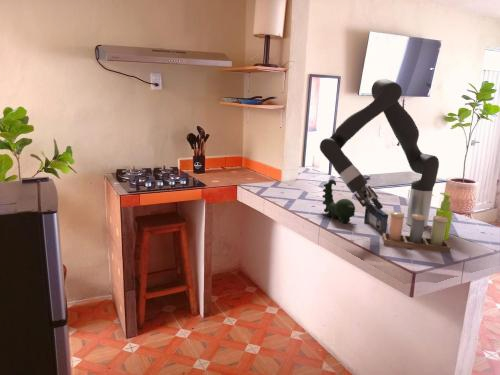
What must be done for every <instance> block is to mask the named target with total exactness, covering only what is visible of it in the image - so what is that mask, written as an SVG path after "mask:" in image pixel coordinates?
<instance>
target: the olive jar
mask: <svg viewBox="0 0 500 375" xmlns="http://www.w3.org/2000/svg"><path fill="white" fill-rule="evenodd" d="M446 223H447V218H445V217H442V216H436V215H433V217H432V226H431V231H430V232H431V233H430V237H429V238H430V243H429V245H437V246H443V240H444V234H445V229H446Z"/></svg>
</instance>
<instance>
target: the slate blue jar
mask: <svg viewBox="0 0 500 375" xmlns="http://www.w3.org/2000/svg"><path fill="white" fill-rule="evenodd" d="M425 218H426V216H424V215H421V214H412V222H411V225H410V230H409V235H408V236H409V242H412V243H420V244H421V242H422V237H423V235H424V228H425V227H424V223H425Z"/></svg>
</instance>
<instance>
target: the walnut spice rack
mask: <svg viewBox="0 0 500 375" xmlns="http://www.w3.org/2000/svg"><path fill="white" fill-rule="evenodd" d="M388 236H389V232H388V233H387V232H386V233H383V234H382V237H381V238H382V243H383V246H392V247H398V248H399V247H400V248H406V249H413V250H421V251H431V252H439V253H447V254H450V253H451V250H452V249H451V248H452V247H451V246H450V245H449V244H450V243H448V242H447V240H443V246H437V245H429V243H430V237H423V236H422V242H421V244H420V243H412V242H409V236H410V235H406V234H405V235H404V234H401V240H400V241H395V240H388Z"/></svg>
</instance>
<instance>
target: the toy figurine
mask: <svg viewBox="0 0 500 375" xmlns="http://www.w3.org/2000/svg"><path fill="white" fill-rule="evenodd" d="M333 185H334V186H336V185H337V182H336V180H335V179H332V178H331V179H329V180H328V182H326V183H325V184H323V187H324V189H322V192H323V193H324V194H323V195H322V196H321V197H322V198H324V200H323V201H322V205H325V208H324V210H323V212H324V213H326V216H327V217H330V218H331V219H336V218H340V221H341V223H343V224H347V223H350V221H351V218H352V217H355V212H356V207H355V204H354V203H353V201H352V200H350V199H349V198H348V199H347V198H342V199H339V200H337V201H336V202H334V201H335V200H334V199H333V198H334V194H333V188H332V187H333Z"/></svg>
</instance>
